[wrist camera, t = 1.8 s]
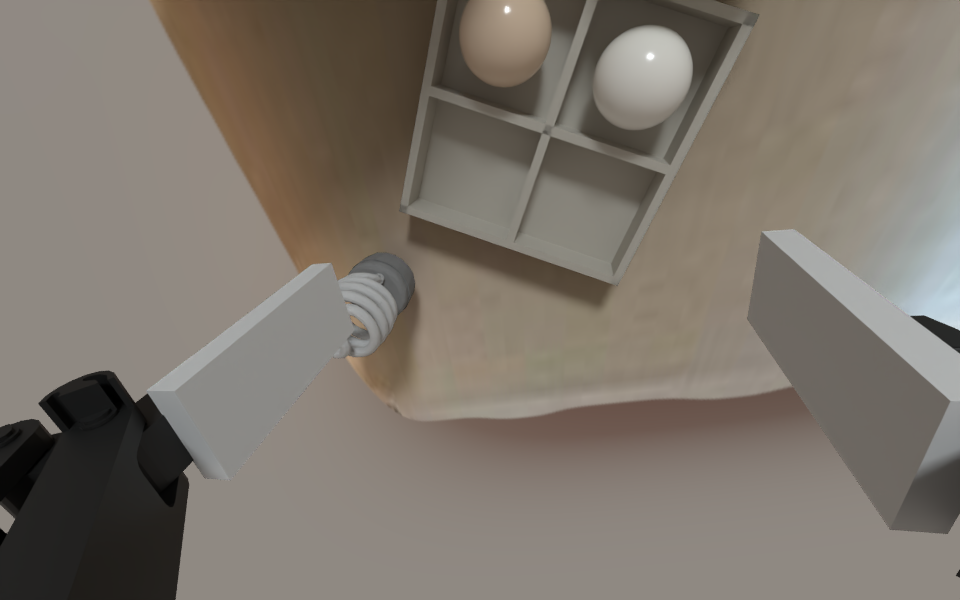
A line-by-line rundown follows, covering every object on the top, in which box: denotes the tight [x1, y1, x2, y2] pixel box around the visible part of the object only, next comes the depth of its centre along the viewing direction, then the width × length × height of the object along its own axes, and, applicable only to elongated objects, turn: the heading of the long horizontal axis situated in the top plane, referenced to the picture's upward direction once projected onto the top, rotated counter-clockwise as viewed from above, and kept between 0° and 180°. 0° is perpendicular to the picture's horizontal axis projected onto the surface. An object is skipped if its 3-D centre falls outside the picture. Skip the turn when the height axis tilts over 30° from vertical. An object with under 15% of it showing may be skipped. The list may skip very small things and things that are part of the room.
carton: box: [399, 0, 759, 286], centre depth 29 cm, size 18×18×3 cm
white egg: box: [592, 24, 693, 130], centre depth 25 cm, size 6×6×6 cm
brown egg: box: [459, 0, 552, 88], centre depth 25 cm, size 6×6×6 cm
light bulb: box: [333, 253, 415, 358], centre depth 34 cm, size 6×6×12 cm
